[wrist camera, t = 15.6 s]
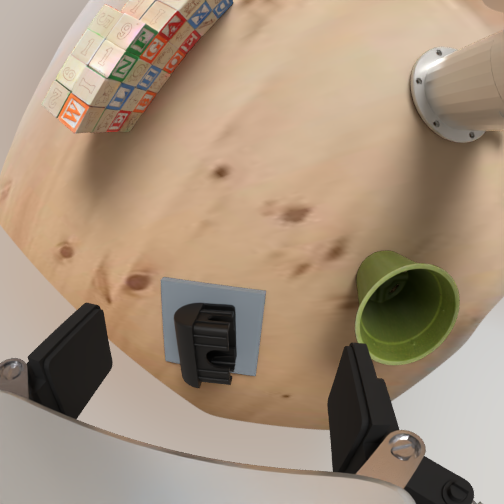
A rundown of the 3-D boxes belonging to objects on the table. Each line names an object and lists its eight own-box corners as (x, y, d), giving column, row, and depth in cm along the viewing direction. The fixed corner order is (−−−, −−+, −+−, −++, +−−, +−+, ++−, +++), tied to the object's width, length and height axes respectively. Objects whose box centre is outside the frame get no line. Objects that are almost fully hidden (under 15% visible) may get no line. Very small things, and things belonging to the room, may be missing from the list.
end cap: (183, 297, 42) (166, 324, 36) (235, 301, 41) (226, 329, 35) (190, 356, 45) (177, 386, 39) (237, 361, 45) (229, 392, 38)
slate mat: (266, 290, 41) (265, 294, 40) (256, 371, 46) (255, 376, 45) (163, 276, 42) (160, 279, 42) (167, 357, 47) (165, 360, 46)
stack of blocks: (197, -17, 29) (166, -63, 17) (235, 3, 30) (213, -46, 18) (99, 109, 36) (38, 105, 24) (130, 133, 37) (72, 134, 25)
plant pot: (403, 321, 41) (429, 370, 30) (327, 304, 41) (337, 356, 31) (435, 244, 37) (477, 279, 26) (356, 220, 37) (381, 250, 27)
